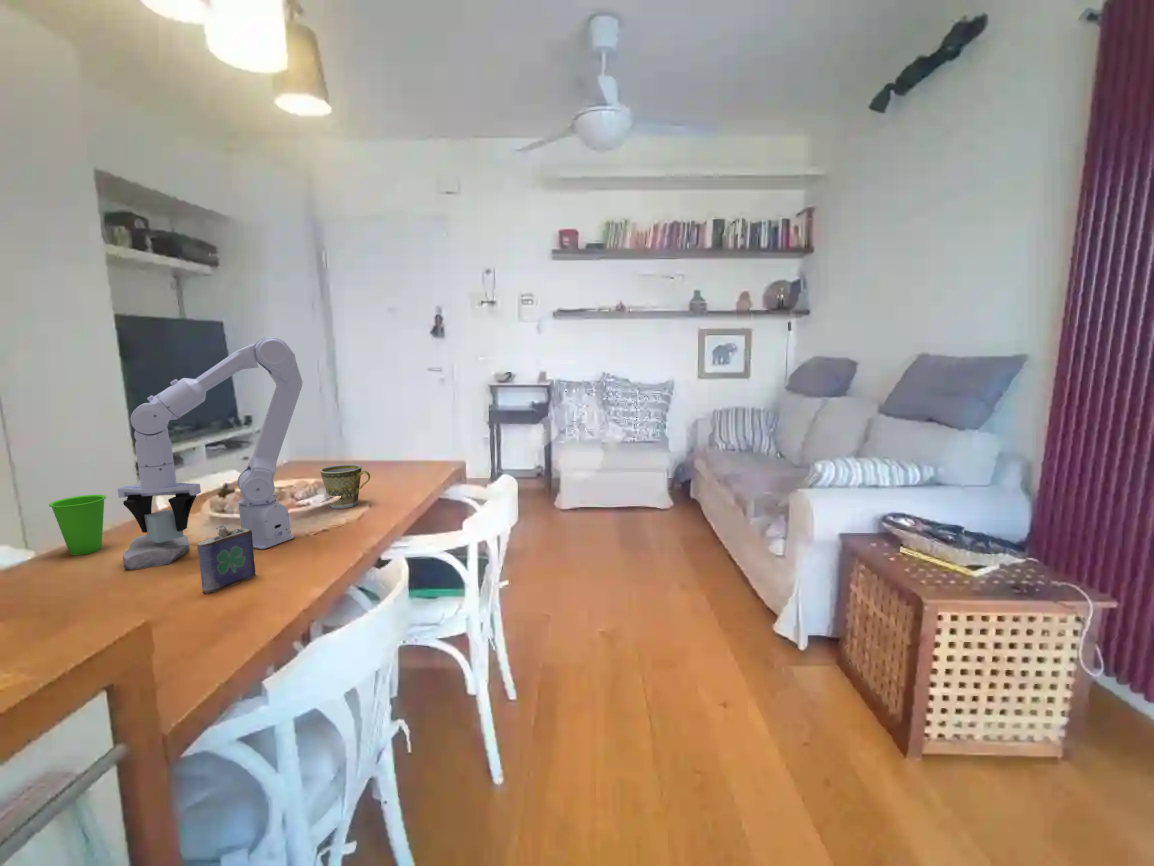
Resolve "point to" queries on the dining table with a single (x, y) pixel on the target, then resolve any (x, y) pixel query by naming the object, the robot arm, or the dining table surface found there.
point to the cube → (161, 526)
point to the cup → (80, 522)
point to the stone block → (153, 552)
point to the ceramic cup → (343, 483)
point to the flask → (226, 559)
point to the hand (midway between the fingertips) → (165, 530)
